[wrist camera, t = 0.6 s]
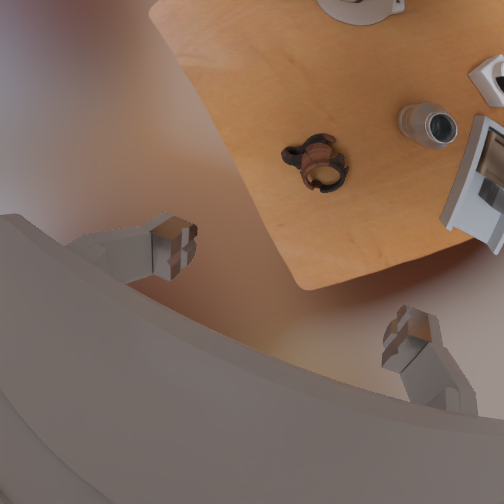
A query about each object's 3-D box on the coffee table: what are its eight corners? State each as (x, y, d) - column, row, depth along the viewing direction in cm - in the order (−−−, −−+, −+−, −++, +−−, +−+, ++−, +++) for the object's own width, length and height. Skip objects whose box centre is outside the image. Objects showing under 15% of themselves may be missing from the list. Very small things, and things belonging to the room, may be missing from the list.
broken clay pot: (350, 134, 45) (356, 162, 40) (338, 171, 53) (341, 201, 48) (284, 124, 45) (281, 151, 41) (280, 163, 53) (277, 192, 49)
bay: (475, 114, 32) (485, 115, 28) (525, 149, 29) (537, 154, 25) (439, 218, 44) (445, 228, 40) (488, 243, 41) (497, 255, 37)
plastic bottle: (432, 138, 38) (472, 155, 22) (398, 140, 41) (421, 158, 25) (426, 103, 35) (463, 99, 19) (391, 106, 38) (410, 101, 22)
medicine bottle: (508, 90, 25) (539, 89, 16) (488, 107, 30) (518, 109, 20) (486, 58, 25) (514, 49, 15) (466, 74, 29) (492, 67, 19)
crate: (482, 129, 32) (498, 132, 26) (520, 155, 29) (537, 162, 24) (463, 187, 38) (476, 198, 32) (501, 209, 36) (515, 222, 30)
